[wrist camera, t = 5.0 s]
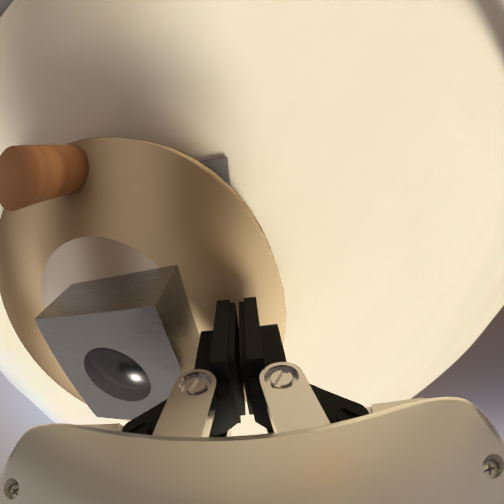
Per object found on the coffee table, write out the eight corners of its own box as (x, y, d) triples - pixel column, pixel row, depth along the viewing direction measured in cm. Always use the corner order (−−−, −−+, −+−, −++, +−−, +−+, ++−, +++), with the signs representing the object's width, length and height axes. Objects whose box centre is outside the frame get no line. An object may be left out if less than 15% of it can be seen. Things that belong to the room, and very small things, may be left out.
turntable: (265, 113, 12) (289, 72, 6) (283, 396, 18) (297, 470, 11) (-4, 182, 11) (-70, 202, 5) (72, 392, 17) (46, 444, 11)
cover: (177, 264, 11) (155, 306, 8) (211, 368, 13) (206, 420, 10) (71, 283, 11) (33, 319, 8) (115, 373, 13) (96, 417, 10)
